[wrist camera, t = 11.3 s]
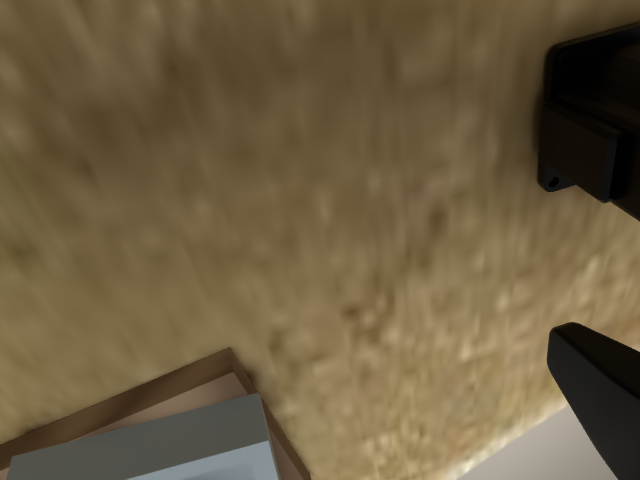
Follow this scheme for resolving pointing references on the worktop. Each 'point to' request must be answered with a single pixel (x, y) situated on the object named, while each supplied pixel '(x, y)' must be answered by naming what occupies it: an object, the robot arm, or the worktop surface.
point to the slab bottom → (161, 411)
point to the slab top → (165, 449)
